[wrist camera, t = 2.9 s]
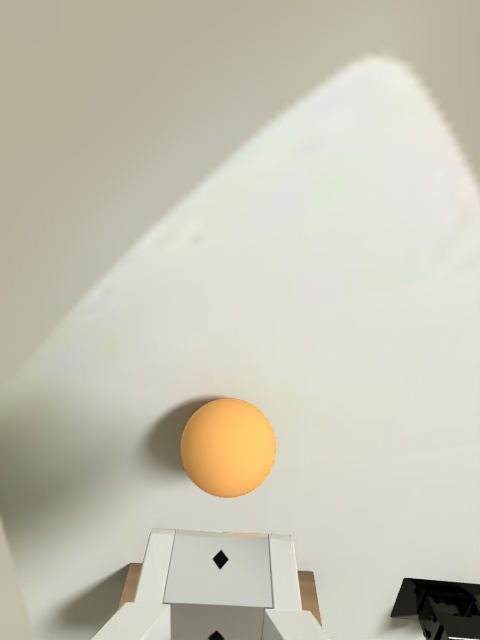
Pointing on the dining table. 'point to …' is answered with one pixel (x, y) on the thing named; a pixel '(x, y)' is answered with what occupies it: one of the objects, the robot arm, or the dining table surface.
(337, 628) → the dining table surface
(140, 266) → the dining table surface
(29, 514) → the dining table surface
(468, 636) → the black stepped block
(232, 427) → the ball
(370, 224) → the dining table surface
